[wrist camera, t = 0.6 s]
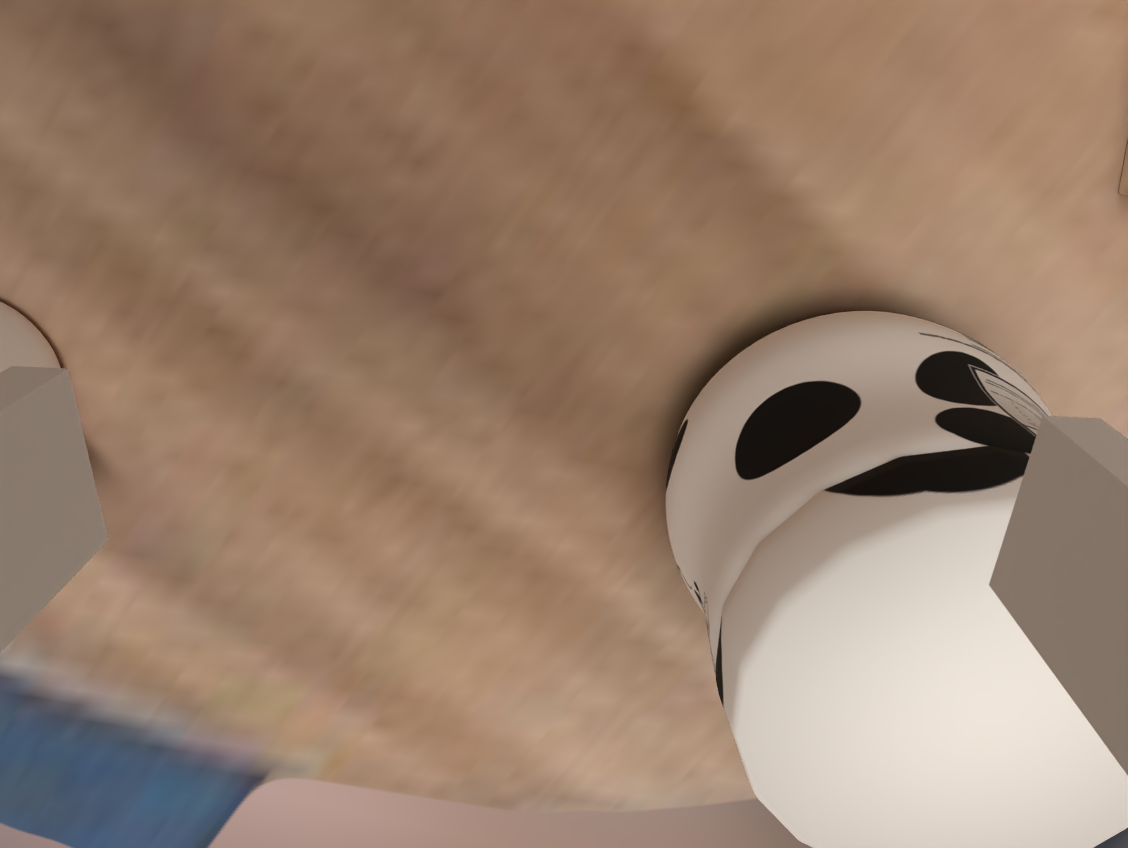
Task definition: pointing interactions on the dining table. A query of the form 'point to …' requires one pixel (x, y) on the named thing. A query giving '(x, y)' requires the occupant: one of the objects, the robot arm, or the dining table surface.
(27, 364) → the mug
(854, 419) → the milk container
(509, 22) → the dining table surface
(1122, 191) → the bumper
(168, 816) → the dining table surface
